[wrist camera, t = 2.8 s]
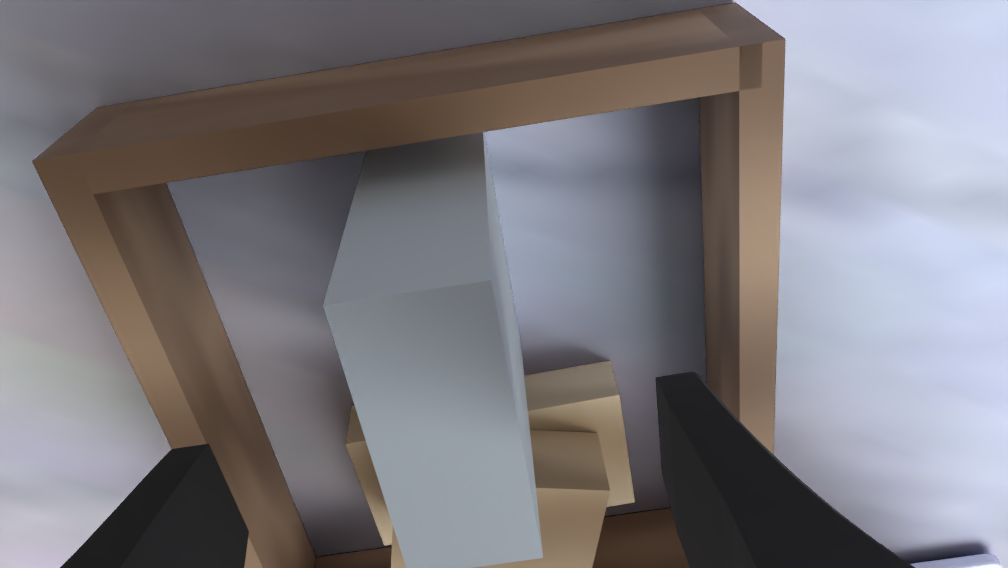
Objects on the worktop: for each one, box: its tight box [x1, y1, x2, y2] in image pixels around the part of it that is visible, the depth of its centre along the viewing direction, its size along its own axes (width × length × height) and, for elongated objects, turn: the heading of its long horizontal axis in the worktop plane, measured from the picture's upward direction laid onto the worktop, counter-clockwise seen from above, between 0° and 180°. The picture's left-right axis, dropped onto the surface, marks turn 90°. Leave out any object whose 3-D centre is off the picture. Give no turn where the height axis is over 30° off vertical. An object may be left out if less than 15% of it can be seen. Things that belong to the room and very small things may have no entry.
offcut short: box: [391, 430, 610, 568], centre depth 20 cm, size 3×5×2 cm, turn 84°
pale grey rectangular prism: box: [323, 132, 543, 568], centre depth 16 cm, size 6×2×7 cm, turn 9°
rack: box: [32, 3, 785, 568], centre depth 19 cm, size 15×14×3 cm
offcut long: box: [345, 361, 635, 546], centre depth 22 cm, size 4×7×2 cm, turn 101°
